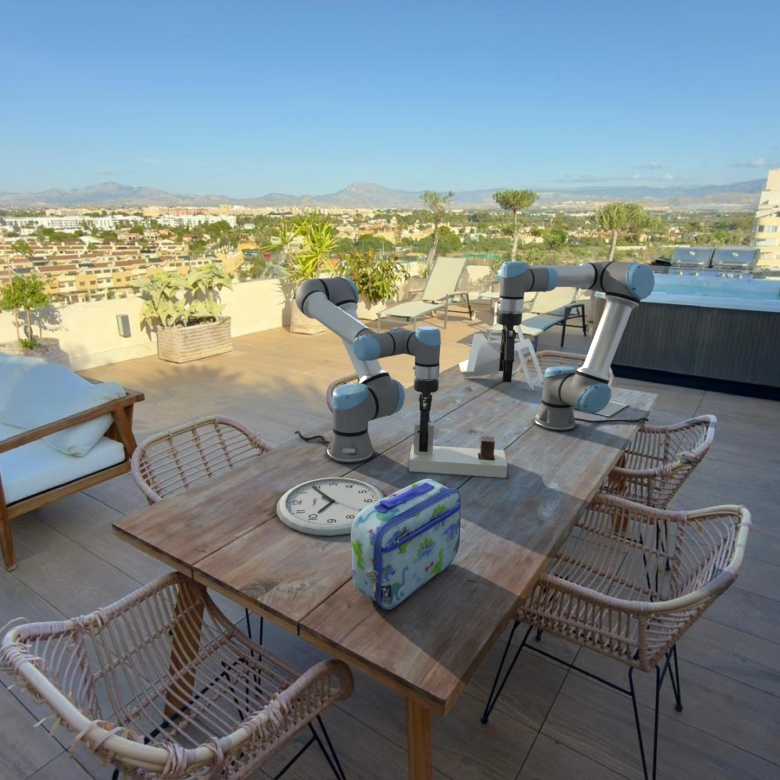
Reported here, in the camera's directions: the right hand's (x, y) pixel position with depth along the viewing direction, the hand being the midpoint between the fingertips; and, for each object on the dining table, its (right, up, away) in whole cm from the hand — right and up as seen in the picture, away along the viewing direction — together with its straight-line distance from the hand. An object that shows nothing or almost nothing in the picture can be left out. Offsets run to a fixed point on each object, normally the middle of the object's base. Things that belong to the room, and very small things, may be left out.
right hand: (504, 376), depth 171 cm
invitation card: (+54, -12, +55) cm, 78 cm away
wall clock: (-53, -36, -29) cm, 70 cm away
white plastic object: (+15, -2, +85) cm, 86 cm away
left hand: (-27, -23, -4) cm, 35 cm away
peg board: (-16, -29, -4) cm, 33 cm away
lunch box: (-34, -46, -58) cm, 82 cm away
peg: (-7, -29, -5) cm, 30 cm away
